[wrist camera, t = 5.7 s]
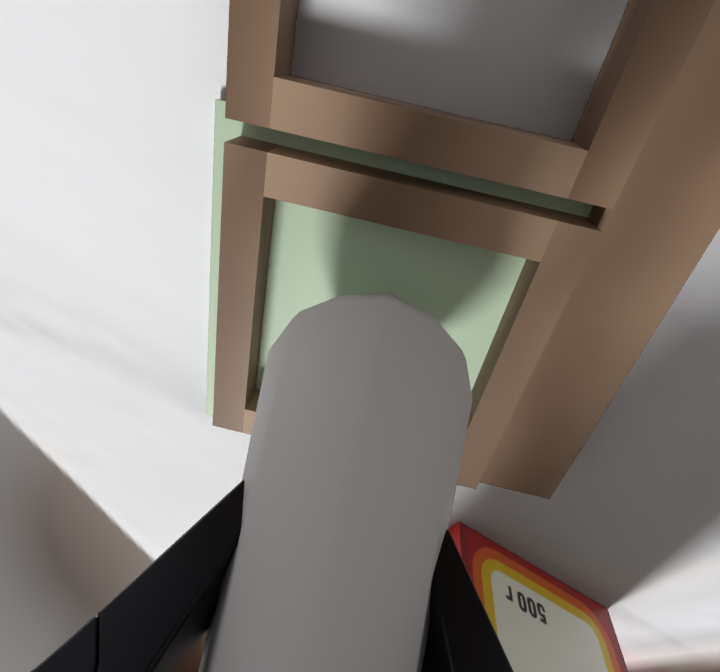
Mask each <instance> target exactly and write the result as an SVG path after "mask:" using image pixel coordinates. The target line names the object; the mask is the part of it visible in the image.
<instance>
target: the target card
mask: <svg viewBox="0 0 720 672" xmlns="http://www.w3.org/2000/svg"><path fill="white" fill-rule="evenodd" d="M225 106H226V100H222V99H215V127H214V160H213V194H212V228H211V262H210V295H209V329H208V363H207V397H206V414H208V415H212V416H213V403H214V379H215V354H216V329H217V304H218V279H219V254H220V230H221V205H222V180H223V155H224V142H225V141H228V140H231V139H233V138H236V137H239V136H244V137H249V138H253V139H257V140H261V141H265V142H270V143H274V144H278V145H282V146H287V147H291V148H295V149H299V150H304V151H308V152H312V153H316V154H320V155H325V156H329V157H333V158H337V159H342V160H346V161H350V162H354V163H359V164H363V165H367V166H371V167H375V168H380V169H384V170H388V171H392V172H397V173H401V174H405V175H409V176H414V177H418V178H422V179H426V180H430V181H435V182H439V183H443V184H447V185H452V186H456V187H460V188H464V189H469V190H473V191H477V192H481V193H485V194H490V195H494V196H498V197H502V198H507V199H511V200H515V201H519V202H524V203H528V204H532V205H536V206H540V207H545V208H549V209H553V210H557V211H562V212H566V213H570V214H574V215H579V216H583V217H587V218H588V216H589V214H590V211H591V209H592V207H593V205H592V204H587V203H583V202H579V201H575V200H570V199H566V198H562V197H558V196H553V195H549V194H545V193H541V192H537V191H532V190H528V189H524V188H520V187H515V186H511V185H507V184H503V183H498V182H494V181H490V180H486V179H481V178H477V177H473V176H469V175H464V174H460V173H456V172H452V171H448V170H443V169H439V168H435V167H431V166H426V165H422V164H418V163H414V162H409V161H405V160H401V159H397V158H392V157H388V156H384V155H380V154H376V153H371V152H367V151H363V150H359V149H354V148H350V147H346V146H342V145H337V144H333V143H329V142H325V141H320V140H316V139H312V138H308V137H304V136H299V135H295V134H291V133H287V132H282V131H278V130H274V129H270V128H265V127H261V126H257V125H253V124H248V123H244V122H240V121H236V120H232V119H227V118H225ZM525 261H526V259H525V258H521V257H516V256H512V255H508V254H504V253H500V252H495V251H491V250H487V249H483V248H478V247H474V246H470V245H466V244H462V243H457V242H453V241H449V240H445V239H441V238H436V237H432V236H428V235H424V234H420V233H415V232H411V231H407V230H403V229H398V228H394V227H390V226H386V225H382V224H377V223H373V222H369V221H365V220H361V219H356V218H352V217H348V216H344V215H339V214H335V213H331V212H327V211H323V210H318V209H314V208H310V207H306V206H302V205H297V204H293V203H289V202H285V201H281V200H276V199H275V206H274V216H273V226H272V236H271V246H270V255H269V265H268V275H267V285H266V295H265V305H264V315H263V325H262V335H261V344H260V354H259V364H258V374H257V384H256V388H257V389H261V385H262V380H263V375H264V370H265V365H266V360H267V355H268V351H269V349H270V348H271V347H272V345H273V344H274V343H275V341H276V340H277V339H278V337H279V336H280V335H281V333H282V332H283V331H284V329H285V328H286V327H287V325H288V324H289V323H290V321H291V320H292V319H293V317H295V316H296V315H297V314H298V313H299V312H300V311H302V310H304V309H307V308H309V307H312V306H315V305H317V304H320V303H322V302H325V301H327V300H330V299H332V298H335V297H337V296H340V295H372V294H378V293H383V292H391V293H392V294H393V295H395V296H396V297H397V298H399V299H400V300H401V301H403V302H405V303H407V304H409V305H411V306H413V307H415V308H417V309H419V310H421V311H423V312H425V313H427V314H429V315H431V316H433V317H434V318H435V319H436V320H437V321H438V322H439V324H440V325H441V326H442V327H443V328H444V329H445V331H446V332H447V333H448V334H449V335H450V336H451V338H452V339H453V340H454V341H455V342H456V343H457V345H458V346H459V347H460V348H461V349H462V351H463V353H464V356H465V358H466V361H467V368H468V374H469V381H470V387H471V391H472V388H473V386H474V384H475V381H476V379H477V376H478V374H479V372H480V369H481V367H482V364H483V362H484V359H485V357H486V355H487V352H488V350H489V347H490V345H491V343H492V340H493V338H494V335H495V333H496V331H497V328H498V326H499V323H500V321H501V319H502V316H503V314H504V311H505V309H506V306H507V304H508V302H509V299H510V297H511V294H512V292H513V290H514V287H515V285H516V282H517V280H518V278H519V275H520V273H521V270H522V268H523V266H524V263H525Z"/></svg>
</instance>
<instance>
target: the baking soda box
mask: <svg viewBox="0 0 720 672" xmlns="http://www.w3.org/2000/svg"><path fill="white" fill-rule="evenodd" d="M448 530H449V532H450V534H451V536H452V538H453V540H454V542H455V545H456V547H457V549H458V551H459V553H460V555H461V558H462V560H463V562H464V564H465V566H466V569H467V571H468V573H469V575H470V577H471V579H472V582H473V584H474V586H475V588H476V590H477V593H478V595H479V597H480V599H481V601H482V603H483V606H484V608H485V610H486V612H487V614H488V617H489V619H490V621H491V623H492V625H493V627H494V630H495V632H496V634H497V636H498V638H499V641H500V643H501V645H502V647H503V649H504V651H505V654H506V656H507V658H508V660H509V662H510V665H511V667H512V669H513V671H514V672H628V670H627V667H626V664H625V661H624V658H623V655H622V652H621V649H620V646H619V643H618V640H617V637H616V634H615V631H614V627H613V624H612V621H611V618H610V615H609V612H608V609H607V608H605V607H603V606H602V605H600V604H598V603H597V602H595V601H593V600H591V599H590V598H588V597H586V596H585V595H583V594H581V593H580V592H578V591H576V590H574V589H573V588H571V587H569V586H568V585H566V584H564V583H563V582H561V581H559V580H558V579H556V578H554V577H552V576H551V575H549V574H547V573H546V572H544V571H542V570H541V569H539V568H537V567H535V566H534V565H532V564H530V563H529V562H527V561H525V560H524V559H522V558H520V557H519V556H517V555H515V554H513V553H512V552H510V551H508V550H507V549H505V548H503V547H502V546H500V545H498V544H496V543H495V542H493V541H491V540H490V539H488V538H486V537H485V536H483V535H481V534H480V533H478V532H476V531H474V530H473V529H471V528H469V527H468V526H466V525H464V524H463V523H461V522H458V523H456V524H455V525H454V526H452V527H451V528H449V529H448Z"/></svg>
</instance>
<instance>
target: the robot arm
mask: <svg viewBox="0 0 720 672" xmlns="http://www.w3.org/2000/svg"><path fill="white" fill-rule="evenodd" d="M244 483H245V480H243V481H241V482H240V483H239V484H238V485H237V486H236V487H235V488H234V489H233V490H232V491H230V492H229V493H228V494H227V495H226V496H225V497H224V498H223V499H222V500H221V501H220V502H218V503H217V504H216V505H215V506H214V507H213V508H212V509H211V510H210V511H209V512H208V513H206V514H205V515H204V516H203V517H202V518H201V519H200V520H199V521H198V522H197V523H196V524H194V525H193V526H192V527H191V528H190V529H189V530H188V531H187V532H186V533H185V534H184V535H182V536H181V537H180V538H179V539H178V540H177V541H176V542H175V543H174V544H173V545H172V546H170V547H169V548H168V549H167V550H166V551H165V552H164V553H163V554H162V555H161V556H160V557H158V558H157V559H156V560H155V561H154V562H153V563H152V564H151V565H150V566H149V567H147V568H146V569H145V570H144V571H143V572H142V573H141V574H140V575H139V576H138V577H137V578H135V579H134V580H133V581H132V582H131V583H130V584H129V585H128V586H127V587H126V588H125V589H123V590H122V591H121V592H120V593H119V594H118V595H117V596H116V597H115V598H114V599H113V600H112V601H110V602H109V603H108V604H107V605H106V606H105V607H104V608H103V609H102V610H101V611H100V612H99V613H98V617H96V616H94V617H93V618H92V619H91V620H89V621H88V622H87V623H86V624H85V625H84V626H83V627H82V628H81V629H80V630H78V631H77V632H76V633H75V634H74V635H73V636H72V637H71V638H70V639H69V640H67V641H66V642H65V643H64V644H63V645H62V646H60V647H59V648H58V649H57V650H56V651H55V652H54V653H52V654H51V655H50V656H49V657H48V658H47V659H46V660H44V661H43V662H42V663H41V664H40V665H38V666H37V667H36V668H35V669H34V670H32V671H31V672H198V671H199V667H200V662H201V658H202V653H203V649H204V645H205V640H206V636H207V632H208V628H209V625H210V622H211V619H212V617H213V614H214V611H215V608H216V605H217V602H218V598H219V593H220V588H221V583H222V580H223V577H224V575H225V573H226V570H227V568H228V565H229V563H230V560H231V558H232V555H233V553H234V550H235V548H236V545H237V543H238V540H239V537H240V532H241V526H242V513H243V498H244ZM421 672H514V671H513V669H512V667H511V665H510V662H509V660H508V658H507V656H506V654H505V651H504V649H503V647H502V645H501V643H500V641H499V638H498V636H497V634H496V632H495V630H494V627H493V625H492V623H491V621H490V619H489V617H488V614H487V612H486V610H485V608H484V606H483V603H482V601H481V599H480V597H479V595H478V593H477V590H476V588H475V586H474V584H473V582H472V579H471V577H470V575H469V573H468V571H467V569H466V566H465V564H464V562H463V560H462V558H461V555H460V553H459V551H458V549H457V547H456V545H455V542H454V540H453V538H452V536H451V534H450V532H449V530H448V529H447V530H446V532H445V535H444V539H443V542H442V545H441V549H440V552H439V555H438V559H437V562H436V566H435V569H434V573H433V578H432V586H431V602H430V622H429V633H428V638H427V644H426V649H425V654H424V659H423V665H422V670H421Z"/></svg>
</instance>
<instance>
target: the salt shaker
mask: <svg viewBox="0 0 720 672" xmlns="http://www.w3.org/2000/svg"><path fill="white" fill-rule="evenodd" d="M471 405H472V393H471V387H470V381H469V374H468V368H467V361H466V358H465V356H464V353H463V351H462V349H461V348H460V347H459V346H458V345H457V343H456V342H455V341H454V340H453V339H452V338H451V336H450V335H449V334H448V333H447V332H446V331H445V329H444V328H443V327H442V326H441V325H440V324H439V322H438V321H437V320H436V319H435V318H434V317H433V316H431V315H429V314H427V313H425V312H423V311H421V310H419V309H417V308H415V307H413V306H411V305H409V304H407V303H405V302H403V301H401V300H400V299H399V298H397V297H396V296H395V295H393V294H392V293H391V292H383V293H378V294H372V295H340V296H337V297H335V298H332V299H330V300H327V301H325V302H322V303H320V304H317V305H315V306H312V307H309V308H307V309H304V310H302V311H300V312H299V313H298V314H297V315H296V316H295V317H293V319H292V320H291V321H290V323H289V324H288V325H287V327H286V328H285V329H284V331H283V332H282V333H281V335H280V336H279V337H278V339H277V340H276V341H275V343H274V344H273V345H272V347H271V348H270V349H269V351H268V355H267V360H266V365H265V370H264V375H263V380H262V385H261V390H260V395H259V399H258V404H257V409H256V414H255V419H254V424H253V429H252V434H251V439H250V444H249V449H248V454H247V459H246V464H245V469H244V474H243V479H242V481H243V480H245V483H244V498H243V513H242V526H241V532H240V537H239V540H238V543H237V545H236V548H235V550H234V553H233V555H232V558H231V560H230V563H229V565H228V568H227V570H226V573H225V575H224V577H223V580H222V583H221V588H220V593H219V598H218V602H217V605H216V608H215V611H214V614H213V617H212V619H211V622H210V625H209V628H208V632H207V636H206V640H205V645H204V649H203V653H202V658H201V662H200V667H199V671H198V672H421V670H422V665H423V659H424V654H425V649H426V644H427V638H428V633H429V622H430V602H431V586H432V578H433V573H434V569H435V566H436V562H437V559H438V555H439V552H440V549H441V545H442V542H443V539H444V535H445V532H446V530H447V529H448V527H449V522H450V517H451V511H452V506H453V501H454V495H455V490H456V485H457V479H458V474H459V469H460V464H461V458H462V453H463V448H464V442H465V437H466V432H467V427H468V421H469V416H470V411H471Z"/></svg>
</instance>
